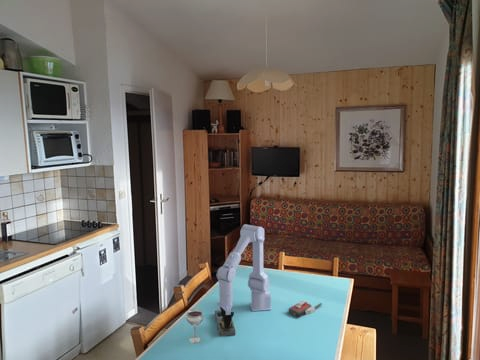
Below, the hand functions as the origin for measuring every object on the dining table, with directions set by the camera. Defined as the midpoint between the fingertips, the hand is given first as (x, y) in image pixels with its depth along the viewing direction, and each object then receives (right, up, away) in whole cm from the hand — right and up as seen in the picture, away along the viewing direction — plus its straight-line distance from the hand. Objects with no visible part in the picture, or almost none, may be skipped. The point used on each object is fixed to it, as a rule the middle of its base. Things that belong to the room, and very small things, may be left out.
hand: (226, 322), depth 167 cm
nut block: (0, -3, 0) cm, 3 cm away
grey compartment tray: (-1, -3, +5) cm, 6 cm away
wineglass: (-13, -4, -8) cm, 16 cm away
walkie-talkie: (+39, -2, +20) cm, 43 cm away
